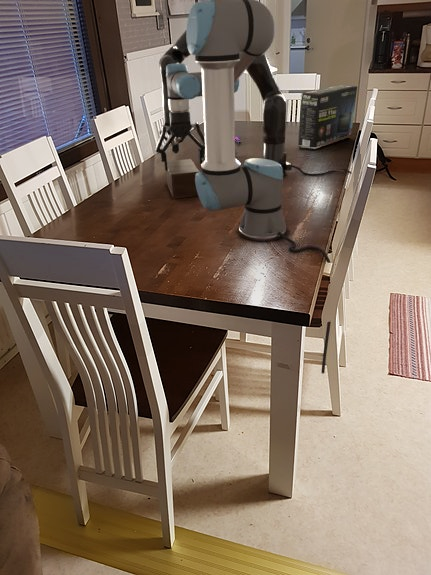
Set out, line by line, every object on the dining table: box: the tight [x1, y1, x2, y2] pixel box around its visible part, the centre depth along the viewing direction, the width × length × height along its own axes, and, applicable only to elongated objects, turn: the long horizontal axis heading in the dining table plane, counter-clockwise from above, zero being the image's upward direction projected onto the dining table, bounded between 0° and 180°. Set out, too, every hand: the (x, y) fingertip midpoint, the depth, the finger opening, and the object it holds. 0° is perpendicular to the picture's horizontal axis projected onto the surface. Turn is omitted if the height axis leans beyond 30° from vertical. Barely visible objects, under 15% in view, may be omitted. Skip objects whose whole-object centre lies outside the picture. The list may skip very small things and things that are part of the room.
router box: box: [297, 84, 358, 151], centre depth 238 cm, size 36×11×27 cm, turn 134°
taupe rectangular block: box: [165, 158, 200, 200], centre depth 186 cm, size 18×11×10 cm, turn 13°
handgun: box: [235, 136, 242, 145], centre depth 257 cm, size 21×8×2 cm, turn 11°
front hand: (183, 168), depth 178 cm, fingers open, 13 cm apart
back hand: (175, 152), depth 195 cm, fingers closed
